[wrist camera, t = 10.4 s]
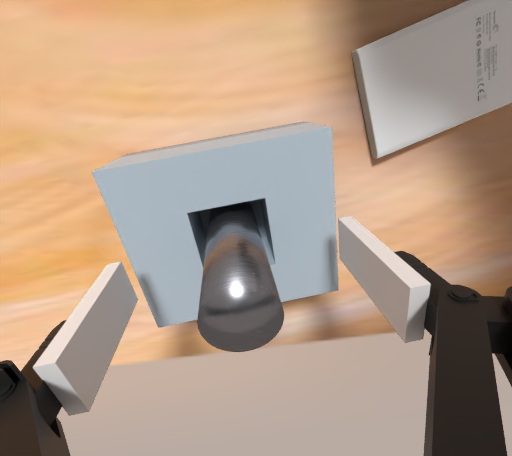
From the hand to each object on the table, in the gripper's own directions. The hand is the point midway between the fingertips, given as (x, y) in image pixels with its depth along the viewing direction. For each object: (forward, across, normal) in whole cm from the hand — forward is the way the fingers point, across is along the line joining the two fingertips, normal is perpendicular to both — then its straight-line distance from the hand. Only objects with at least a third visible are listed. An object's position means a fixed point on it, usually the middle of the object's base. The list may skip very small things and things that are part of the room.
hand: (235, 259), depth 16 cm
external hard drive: (+9, +18, +8) cm, 21 cm away
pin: (+7, 0, 0) cm, 7 cm away
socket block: (+9, 0, 0) cm, 9 cm away
